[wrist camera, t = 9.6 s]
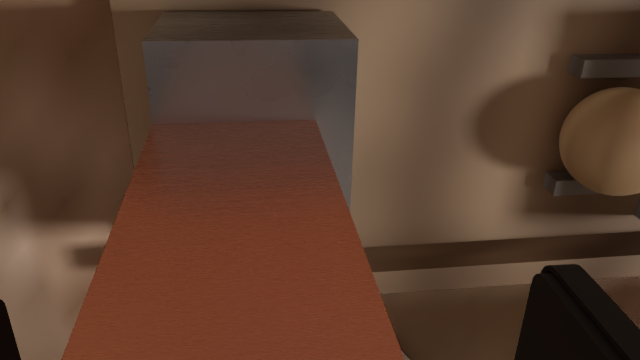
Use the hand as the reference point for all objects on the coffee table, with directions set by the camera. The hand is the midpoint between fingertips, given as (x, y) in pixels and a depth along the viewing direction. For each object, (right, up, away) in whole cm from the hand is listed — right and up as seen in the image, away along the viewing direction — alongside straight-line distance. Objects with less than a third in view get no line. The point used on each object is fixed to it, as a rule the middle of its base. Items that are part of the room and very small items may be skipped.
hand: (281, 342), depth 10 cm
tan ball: (+10, +5, +10) cm, 15 cm away
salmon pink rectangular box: (-2, +4, +8) cm, 9 cm away
